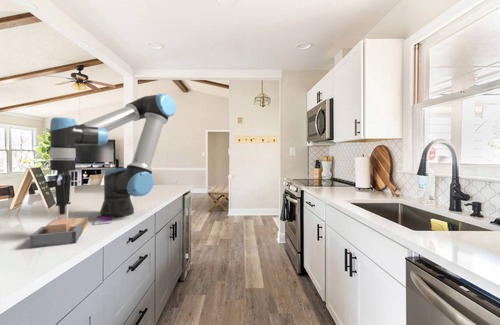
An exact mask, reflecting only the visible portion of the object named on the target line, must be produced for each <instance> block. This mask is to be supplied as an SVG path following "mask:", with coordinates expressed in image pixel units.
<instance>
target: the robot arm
mask: <svg viewBox="0 0 500 325" xmlns="http://www.w3.org/2000/svg"><path fill="white" fill-rule="evenodd" d="M175 113H176V103H175V101H174V99H173V98H172V97H171V96H170V95H169V94H167V93H158V94H151V95H144V96H143V97H140V98H137V99H136V100H133V101H130V102H129V103H126V104H125V106H123V107H122V108H118V109H117V110H114V111H111V112H109V113H105V114H103V115H101V116H99V117H97V118H93V119H91V120H88V121H86V122H83V123H81V124H77V123H76V120H75V119H74V118H70V117H61V116H60V117H56V116H55V117H52V118H51V119H50V126H49V132H50V133H49V135H50V136H49V137H50V141H49V142H50V145H49V146H50V150H48V152H47V153H49V154H50V161H49V164H50V165H49V169H50V170H51V171H56V175H55V176H54V181H53V182H54V188H55V190H54V191H55V201H56V203H55V206H56V207H57V210H58V211H57V217H58V218H57V219H66V218H69V205H71V203H72V202H71V201H70V199H71V198H70V195H71V194H70V193H71V181H72V176H71V174H70V171H74V170H76V160H75V159H76V158H77V157H76V156H77V155H76V154H77V152H76V146H96V147H97V146H98V147H99V146H105V145H106V144H107V143H108V141H109V132H111V131H112V130H114V129H117V128H119V127H121V126H124V125H125V124H127V123H131V122H132V121H134V122H137V121H140V120H143V119H145V121H144V124H143V128H142V131H141V133H140V136H139V139H138V143H137V146H136V149H135V152H134V155H133V158H132V160H131V162H130V163H129V164H127V165H126V167H120V168H118V167H117V168H110V169H106V170H105V171H104V175H103V182H104V185H103V187H104V188H103V190H104V192H103V196H104V198H103V201H102V205H101V208H100V211H99V216H104V217H113V218H120V217H126V216H129V215H133V214H134V213H135V207H134V205H133V202H132V199H131V196H132V197H144V196H146V195H148V194H149V193H150V192H151V191H152V189H153V188H154V184H155V180H154V176H153V175H152V174H153V170H152V169H151V166H152V162H153V159H154V156H155V152H156V149H157V146H158V142H159V140H160V136H161V133H162V130H163V127H164V125H166V124H167V123H168V121H169V117H172V116H173V115H175Z"/></svg>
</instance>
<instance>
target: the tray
mask: <svg viewBox="0 0 500 325" xmlns="http://www.w3.org/2000/svg"><path fill="white" fill-rule="evenodd" d="M82 234H83V233H82V223H80V224H78V225H77V226H76V227H75V229H74V230H73V231H68V232H58V233H47V234H45V226H41V227H39V228H38V229H37V230H36V231H35V232H33V233H31V235H29V249H36V248H37V249H39V248H47V247H55V246H64V245H72V244H73V245H74V244H77V242H78V240H79V239H80V237H81V236H82Z"/></svg>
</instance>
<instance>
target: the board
mask: <svg viewBox="0 0 500 325" xmlns="http://www.w3.org/2000/svg"><path fill="white" fill-rule="evenodd" d="M71 218H72V226H71V228H70V229H69V230H68V231H73V230H74V229H75V227H76V226H77V225H78V224H80V223H82V234H83V233H84V231H85V230H86V228H87V226H88V224H89V217H88V216H87V217H86V216H85V217H75V218H73V217H71ZM54 220H55V219H52V221H50V222H49V223H48V224H46V225H45V226H44V227H45V234H47V233H48V225H49V224H51V223H52V222H53V221H54Z"/></svg>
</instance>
